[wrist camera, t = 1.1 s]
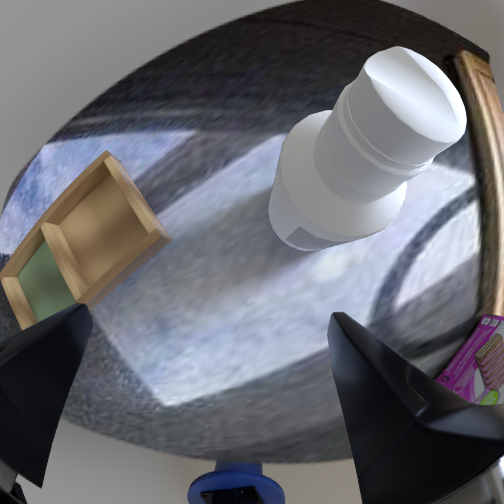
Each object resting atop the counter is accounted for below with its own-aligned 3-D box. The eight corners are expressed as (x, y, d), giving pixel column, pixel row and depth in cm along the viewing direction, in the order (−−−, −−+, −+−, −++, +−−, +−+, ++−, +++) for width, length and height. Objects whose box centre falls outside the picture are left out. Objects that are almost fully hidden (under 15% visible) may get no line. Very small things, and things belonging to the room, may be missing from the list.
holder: (172, 239, 23) (162, 236, 20) (51, 349, 23) (35, 355, 20) (119, 160, 24) (106, 149, 21) (14, 275, 23) (-2, 275, 20)
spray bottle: (312, 268, 23) (463, 268, 5) (251, 215, 23) (242, 74, 5) (358, 209, 23) (512, 119, 5) (300, 160, 24) (369, -6, 6)
